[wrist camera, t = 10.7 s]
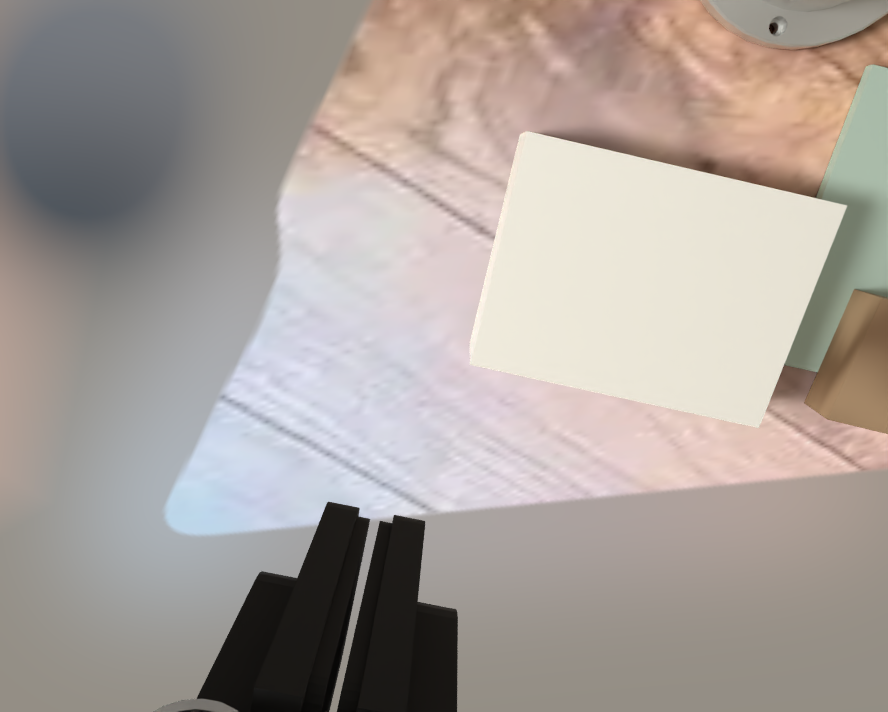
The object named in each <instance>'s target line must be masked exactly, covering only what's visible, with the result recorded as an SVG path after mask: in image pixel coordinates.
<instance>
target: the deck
mask: <svg viewBox="0 0 888 712" xmlns="http://www.w3.org/2000/svg"><path fill="white" fill-rule="evenodd" d="M846 208H847V205H843V204H839V203H834V202H830V201H826V200H821V199H817V198H813V197H808V196H804V195H800V194H796V193H791V192H787V191H783V190H778V189H774V188H770V187H765V186H761V185H757V184H752V183H748V182H744V181H740V180H735V179H731V178H727V177H722V176H718V175H714V174H709V173H705V172H701V171H697V170H692V169H688V168H684V167H679V166H675V165H671V164H666V163H662V162H658V161H654V160H649V159H645V158H641V157H636V156H632V155H628V154H623V153H619V152H615V151H611V150H606V149H602V148H598V147H593V146H589V145H585V144H580V143H576V142H572V141H568V140H563V139H559V138H555V137H550V136H546V135H542V134H537V133H533V132H529V131H526V132H524V133H522V134H520V137H519V141H518V145H517V149H516V153H515V157H514V161H513V166H512V170H511V174H510V178H509V182H508V186H507V191H506V195H505V199H504V203H503V207H502V211H501V215H500V220H499V224H498V228H497V232H496V236H495V240H494V245H493V249H492V253H491V257H490V261H489V265H488V269H487V274H486V278H485V282H484V286H483V290H482V294H481V298H480V303H479V307H478V311H477V315H476V319H475V323H474V328H473V332H472V336H471V340H470V344H469V346H470V365H473V366H477V367H482V368H486V369H491V370H496V371H500V372H505V373H509V374H514V375H518V376H523V377H528V378H532V379H537V380H541V381H546V382H551V383H555V384H560V385H564V386H569V387H573V388H578V389H583V390H587V391H592V392H596V393H601V394H605V395H610V396H615V397H619V398H624V399H628V400H633V401H638V402H642V403H647V404H651V405H656V406H660V407H665V408H670V409H674V410H679V411H683V412H688V413H693V414H697V415H702V416H706V417H711V418H715V419H720V420H725V421H729V422H734V423H738V424H743V425H747V426H752V427H757V428H759V427H760V424H761V422H762V419H763V416H764V414H765V411H766V409H767V406H768V404H769V401H770V399H771V396H772V394H773V391H774V389H775V386H776V384H777V381H778V379H779V376H780V374H781V371H782V369H783V366H784V364H785V361H786V359H787V356H788V354H789V351H790V349H791V346H792V344H793V341H794V339H795V336H796V334H797V331H798V329H799V326H800V324H801V321H802V318H803V316H804V313H805V311H806V308H807V306H808V303H809V301H810V298H811V296H812V293H813V291H814V288H815V286H816V283H817V281H818V278H819V276H820V273H821V271H822V268H823V266H824V263H825V261H826V258H827V256H828V253H829V251H830V248H831V246H832V243H833V241H834V238H835V236H836V233H837V231H838V228H839V226H840V223H841V220H842V218H843V215H844V213H845V210H846Z"/></svg>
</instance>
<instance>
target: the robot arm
mask: <svg viewBox="0 0 888 712" xmlns="http://www.w3.org/2000/svg"><path fill="white" fill-rule="evenodd" d="M700 1H701V3H702V4H703V5H704V7H705V8H706V10H707V11H708V12H709V14H710V15H711V16H712V17H713V18H715V19H716V20H717V21H718V22H719V23H720V24H721V25H722V26H723V27H725V28H726V29H727V30H728V31H730V32H732V33H734V34H735V35H737V36H739V37H741V38H742V39H744V40H746V41H748V42H751V43H755V44H758V45H761V46H765V47H768V48H776V49H789V50H796V49H803V48H811V47H818V46H821V45H824V44H828V43H831V42H835V41H838V40H841V39H843V38H845V37H848V36H850V35H852V34H855V33H857V32H859V31H861V30H864V29H865V28H867V27H868V26H870V25H871V24H873V23H874V22H876V21H877V20H879V19H880V18H882V17H883V16H885V15H886V14H888V0H700ZM769 24H771V25H773V26H774V32H773V34H771V33H770V31H769ZM358 515H359V508H357V507H352V506H347V505H342V504H337V503H332V502H328V503H327V505H326V507H325V510H324V512H323V515H322V517H321V520H320V522H319V525H318V527H317V530H316V533H315V535H314V537H313V540H312V543H311V545H310V548H309V550H308V553H307V555H306V558H305V560H304V563H303V565H302V568H301V570H300V573H299V576H298V578H293V577H288V576H283V575H278V574H273V573H267V572H260V573H259V575H258V576H257V578H256V580H255V582H254V584H253V586H252V588H251V590H250V592H249V594H248V596H247V598H246V600H245V602H244V604H243V606H242V608H241V610H240V612H239V614H238V616H237V618H236V620H235V622H234V624H233V626H232V628H231V630H230V632H229V634H228V636H227V638H226V640H225V642H224V644H223V646H222V648H221V651H220V653H219V654H218V657H217V658H216V660H215V663H214V664H213V666H212V668H211V670H210V672H209V675H208V677H207V679H206V681H205V683H204V685H203V687H202V689H201V691H200V693H199V695H198V697H197V699H190V700H181V701H178V702H175V703H171V704H168V705H165V706H162V707H161V708H159V709H157V710H156V711H154V712H329V710H330V706H331V702H332V698H333V693H334V689H335V685H336V681H337V677H338V672H339V668H340V664H341V660H342V655H343V650H344V646H345V641H346V635H347V631H348V626H349V620H350V616H351V611H352V606H353V601H354V596H355V591H356V586H357V581H358V576H359V571H360V566H361V562H362V557H363V552H364V547H365V541H366V537H367V532H368V527H369V522H370V519H368V518H363V517H358ZM424 530H425V521H422V520H417V519H412V518H407V517H402V516H397V515H394V518H393V523H388V522H383V521H380V523H379V528H378V532H377V536H376V541H375V545H374V550H373V554H372V558H371V563H370V568H369V572H368V576H367V580H366V585H365V589H364V594H363V599H362V603H361V607H360V611H359V616H358V620H357V625H356V629H355V633H354V638H353V643H352V647H351V651H350V656H349V660H348V665H347V669H346V673H345V678H344V682H343V686H342V691H341V696H340V700H339V705H338V709H337V712H457V635H458V632H457V630H458V629H457V627H458V624H457V623H458V617H457V610H456V609H451V608H446V607H441V606H436V605H431V604H426V603H421V602H417V601H418V591H419V581H420V570H421V560H422V549H423V540H424Z"/></svg>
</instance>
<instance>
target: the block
mask: <svg viewBox="0 0 888 712" xmlns="http://www.w3.org/2000/svg"><path fill="white" fill-rule="evenodd" d="M804 403H805V404H806V405H808V406H809V407H810V408H812V409H813V410H815V411H816V412H818V413H819V414H820V415H822V416H823V417H825V418H826V419H828V420H832V421H836V422H840V423H844V424H848V425H853V426H857V427H861V428H865V429H869V430H873V431H878V432H882V433H886V434H888V297H884V296H880V295H876V294H872V293H868V292H864V291H860V290H856V289H854V290H853V293H852V295H851V297H850V299H849V302H848V304H847V306H846V309H845V311H844V313H843V315H842V318H841V320H840V322H839V325H838V327H837V329H836V331H835V334H834V336H833V338H832V341H831V343H830V345H829V347H828V350H827V352H826V354H825V357H824V359H823V361H822V363H821V366H820V368H819V370H818V372H817V375H816V377H815V379H814V382H813V384H812V386H811V388H810V391H809V393H808V395H807V398H806V400H805V402H804Z"/></svg>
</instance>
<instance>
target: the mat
mask: <svg viewBox="0 0 888 712" xmlns="http://www.w3.org/2000/svg"><path fill="white" fill-rule="evenodd" d="M816 198H817V199H821V200H826V201H830V202H834V203H839V204H843V205H847V208H846V210H845V213H844V215H843V218H842V220H841V223H840V226H839V228H838V231H837V233H836V236H835V238H834V241H833V243H832V246H831V248H830V251H829V253H828V256H827V258H826V261H825V263H824V266H823V268H822V271H821V273H820V276H819V278H818V281H817V283H816V286H815V288H814V291H813V293H812V296H811V298H810V301H809V303H808V306H807V308H806V311H805V313H804V316H803V318H802V321H801V324H800V326H799V329H798V331H797V334H796V336H795V339H794V341H793V344H792V346H791V349H790V351H789V354H788V356H787V359H786V361H785V364H784V365H786V366H791V367H795V368H800V369H804V370H809V371H813V372H818V370H819V368H820V366H821V363H822V361H823V359H824V357H825V354H826V352H827V350H828V347H829V345H830V343H831V341H832V338H833V336H834V334H835V331H836V329H837V327H838V325H839V322H840V320H841V318H842V315H843V313H844V311H845V309H846V306H847V304H848V302H849V299H850V297H851V295H852V293H853V290H854V289H856V290H860V291H864V292H868V293H872V294H876V295H880V296H884V297H888V68H886V67H881V66H877V65H869V66H866V68H865V70H864V73H863V76H862V78H861V81H860V83H859V86H858V89H857V91H856V94H855V97H854V99H853V102H852V104H851V107H850V110H849V112H848V115H847V117H846V120H845V123H844V125H843V128H842V131H841V133H840V136H839V138H838V141H837V144H836V146H835V149H834V151H833V154H832V157H831V159H830V162H829V165H828V167H827V170H826V172H825V175H824V178H823V180H822V183H821V185H820V188H819V191H818V193H817V196H816Z"/></svg>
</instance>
